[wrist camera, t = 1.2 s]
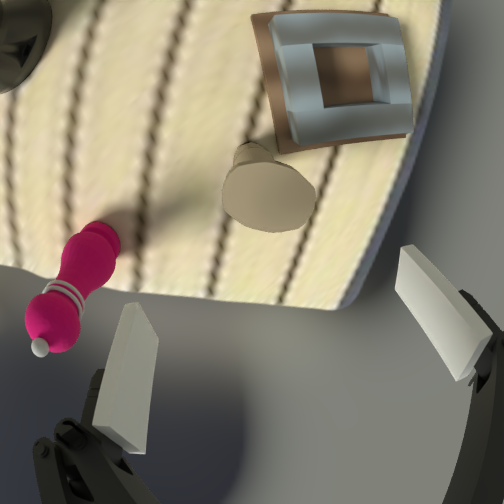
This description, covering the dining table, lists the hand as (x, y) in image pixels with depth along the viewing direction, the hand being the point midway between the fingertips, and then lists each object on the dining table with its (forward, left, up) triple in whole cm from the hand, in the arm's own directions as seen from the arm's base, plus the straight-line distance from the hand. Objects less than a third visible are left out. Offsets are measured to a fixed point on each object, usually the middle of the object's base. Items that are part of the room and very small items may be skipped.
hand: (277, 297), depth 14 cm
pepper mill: (+4, -21, -23) cm, 31 cm away
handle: (-2, +1, -23) cm, 23 cm away
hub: (-10, +13, -23) cm, 28 cm away
